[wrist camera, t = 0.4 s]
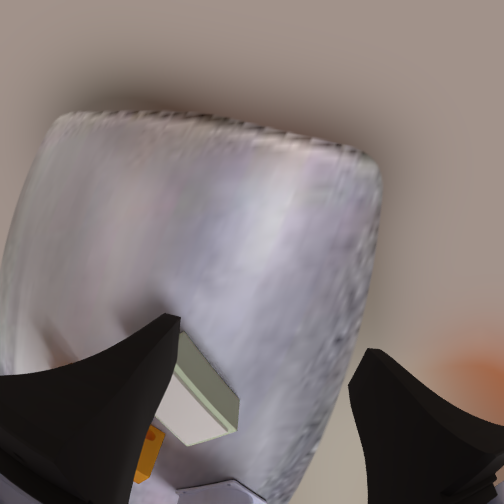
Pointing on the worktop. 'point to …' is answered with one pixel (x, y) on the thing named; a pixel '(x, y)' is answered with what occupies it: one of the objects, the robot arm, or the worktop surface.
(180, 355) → the pale green block
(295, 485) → the worktop surface
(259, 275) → the worktop surface
